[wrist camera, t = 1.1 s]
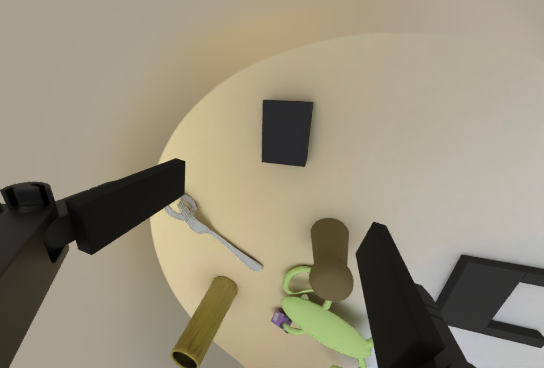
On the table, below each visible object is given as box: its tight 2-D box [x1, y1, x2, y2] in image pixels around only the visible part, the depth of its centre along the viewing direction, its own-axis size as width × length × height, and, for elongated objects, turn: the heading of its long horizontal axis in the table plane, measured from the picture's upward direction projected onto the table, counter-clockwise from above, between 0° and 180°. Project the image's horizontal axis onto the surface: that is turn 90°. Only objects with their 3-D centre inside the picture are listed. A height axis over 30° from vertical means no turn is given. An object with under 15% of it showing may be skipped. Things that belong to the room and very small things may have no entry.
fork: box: [178, 199, 263, 272], centre depth 38 cm, size 3×21×3 cm, turn 51°
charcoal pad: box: [262, 100, 313, 167], centre depth 26 cm, size 6×8×3 cm
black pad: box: [435, 255, 544, 348], centre depth 29 cm, size 14×13×2 cm
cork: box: [309, 218, 353, 302], centre depth 27 cm, size 6×6×11 cm
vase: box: [171, 277, 237, 368], centre depth 38 cm, size 6×6×14 cm
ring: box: [165, 194, 197, 221], centre depth 35 cm, size 3×5×5 cm, turn 48°
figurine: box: [271, 266, 374, 368], centre depth 37 cm, size 18×27×6 cm
